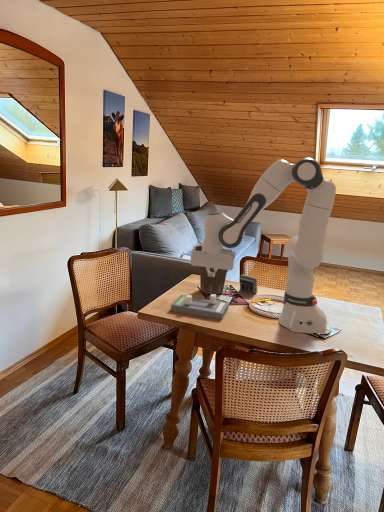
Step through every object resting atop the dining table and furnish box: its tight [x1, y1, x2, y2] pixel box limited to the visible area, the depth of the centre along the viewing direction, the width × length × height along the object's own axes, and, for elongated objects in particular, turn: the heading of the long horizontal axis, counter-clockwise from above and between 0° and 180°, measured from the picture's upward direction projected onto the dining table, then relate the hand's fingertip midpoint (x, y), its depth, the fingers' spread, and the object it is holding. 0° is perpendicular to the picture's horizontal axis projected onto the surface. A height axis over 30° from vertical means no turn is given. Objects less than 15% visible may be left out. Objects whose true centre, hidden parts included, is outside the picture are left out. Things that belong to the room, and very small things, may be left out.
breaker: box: [185, 294, 193, 305], centre depth 181 cm, size 2×3×4 cm
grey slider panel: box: [170, 294, 230, 321], centre depth 183 cm, size 24×14×3 cm, turn 74°
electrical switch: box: [239, 273, 258, 295], centre depth 210 cm, size 9×5×9 cm, turn 57°
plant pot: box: [199, 266, 229, 296], centre depth 207 cm, size 16×16×16 cm
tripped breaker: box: [209, 294, 217, 304], centre depth 184 cm, size 2×3×4 cm
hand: (211, 276), depth 181 cm, fingers closed
